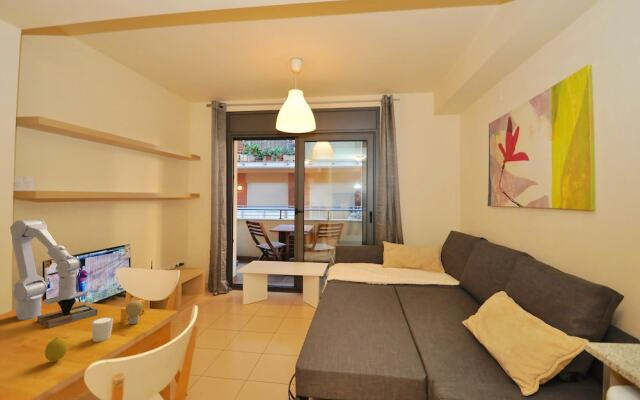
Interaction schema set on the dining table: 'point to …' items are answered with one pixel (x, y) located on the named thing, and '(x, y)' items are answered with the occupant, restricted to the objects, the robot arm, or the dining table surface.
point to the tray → (85, 314)
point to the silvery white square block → (84, 309)
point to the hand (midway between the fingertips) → (65, 316)
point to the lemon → (56, 349)
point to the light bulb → (134, 311)
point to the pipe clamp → (126, 317)
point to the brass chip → (74, 312)
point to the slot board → (54, 319)
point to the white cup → (102, 328)
